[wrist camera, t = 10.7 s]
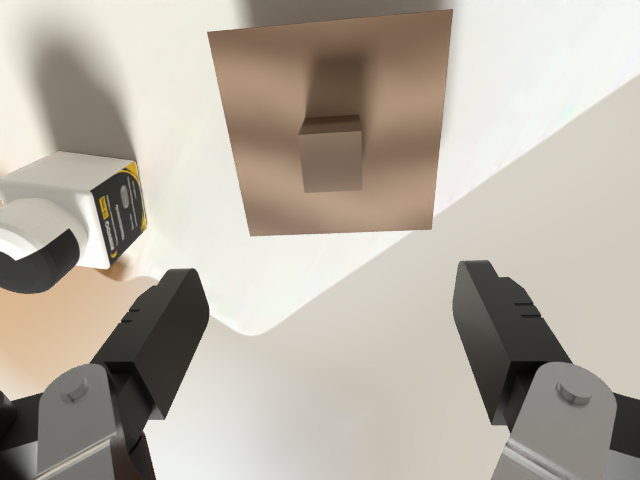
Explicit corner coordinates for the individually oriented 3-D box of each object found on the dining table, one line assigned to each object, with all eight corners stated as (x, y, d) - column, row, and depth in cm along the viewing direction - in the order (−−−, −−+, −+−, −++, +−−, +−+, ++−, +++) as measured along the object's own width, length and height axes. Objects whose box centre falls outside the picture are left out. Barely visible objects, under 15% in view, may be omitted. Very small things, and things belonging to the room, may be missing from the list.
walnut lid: (212, 31, 22) (180, 34, 17) (448, 9, 20) (475, 6, 16) (253, 229, 29) (237, 266, 25) (428, 223, 28) (443, 259, 23)
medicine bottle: (148, 228, 36) (69, 312, 25) (77, 219, 36) (-31, 299, 25) (137, 159, 32) (39, 226, 22) (57, 149, 32) (-79, 210, 22)
